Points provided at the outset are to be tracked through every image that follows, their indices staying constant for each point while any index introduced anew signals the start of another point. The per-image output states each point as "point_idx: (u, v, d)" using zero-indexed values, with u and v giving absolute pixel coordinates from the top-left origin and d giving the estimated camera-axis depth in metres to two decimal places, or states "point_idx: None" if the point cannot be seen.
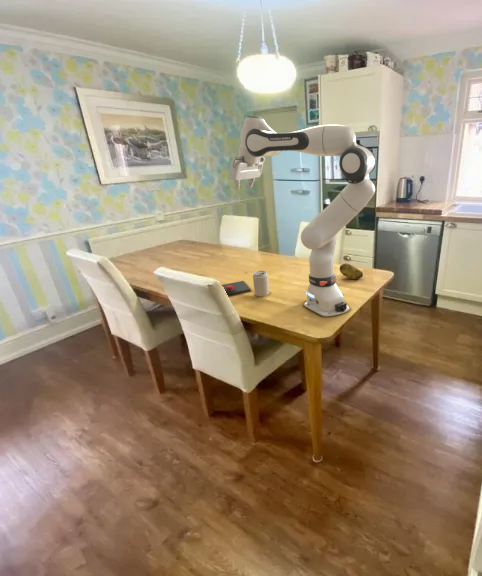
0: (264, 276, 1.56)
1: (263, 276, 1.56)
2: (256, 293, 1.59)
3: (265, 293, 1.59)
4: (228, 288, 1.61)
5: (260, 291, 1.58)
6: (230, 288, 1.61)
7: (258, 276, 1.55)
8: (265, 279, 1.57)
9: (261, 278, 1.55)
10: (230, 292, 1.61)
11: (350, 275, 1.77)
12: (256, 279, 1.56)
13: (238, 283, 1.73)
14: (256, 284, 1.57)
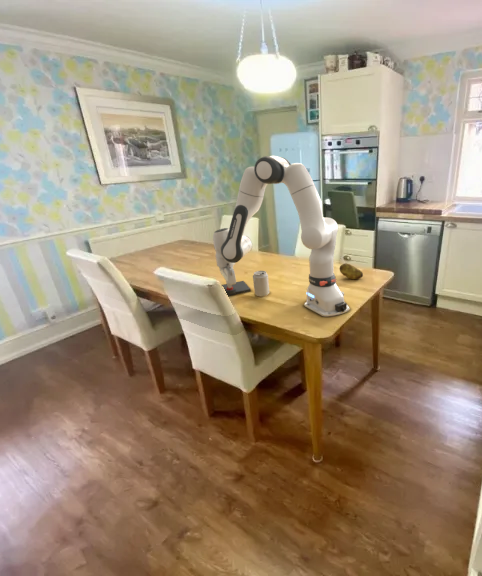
0: (264, 276, 1.56)
1: (263, 276, 1.56)
2: (256, 293, 1.59)
3: (265, 293, 1.59)
4: (228, 289, 1.62)
5: (260, 291, 1.58)
6: (230, 289, 1.62)
7: (258, 276, 1.55)
8: (265, 279, 1.57)
9: (261, 278, 1.55)
10: (230, 292, 1.61)
11: (350, 275, 1.77)
12: (256, 279, 1.56)
13: (238, 283, 1.73)
14: (256, 284, 1.57)
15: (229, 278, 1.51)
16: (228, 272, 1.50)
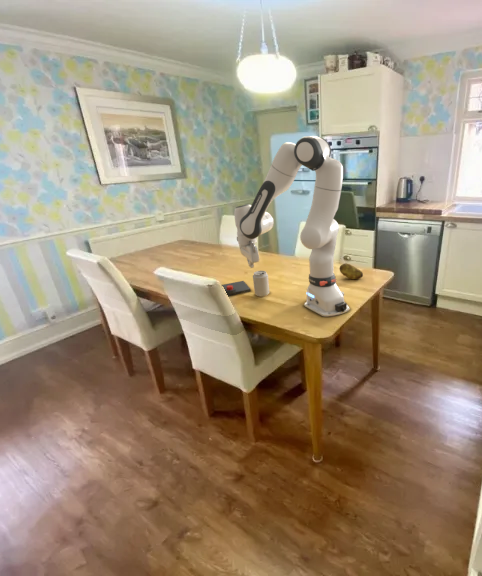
0: (264, 276, 1.56)
1: (263, 276, 1.56)
2: (256, 293, 1.59)
3: (265, 293, 1.59)
4: (228, 288, 1.61)
5: (260, 291, 1.58)
6: (230, 288, 1.61)
7: (258, 276, 1.55)
8: (265, 279, 1.57)
9: (261, 278, 1.55)
10: (230, 292, 1.61)
11: (350, 275, 1.77)
12: (256, 279, 1.56)
13: (238, 283, 1.73)
14: (256, 284, 1.57)
15: (252, 255, 1.45)
16: (251, 249, 1.45)
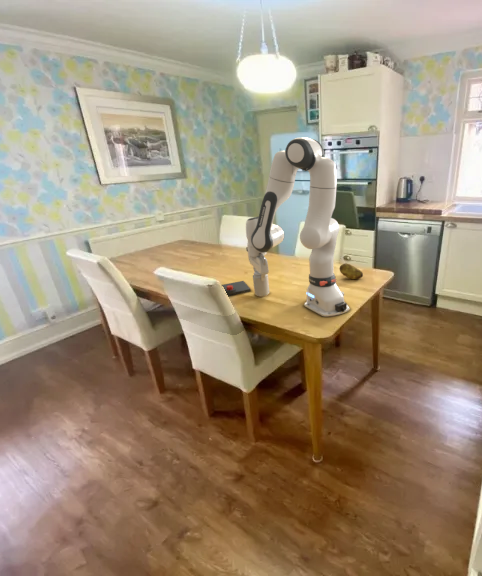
0: None
1: None
2: (256, 293, 1.59)
3: (265, 293, 1.59)
4: (228, 288, 1.61)
5: (260, 291, 1.58)
6: (230, 288, 1.61)
7: (258, 276, 1.55)
8: (265, 279, 1.57)
9: None
10: (230, 292, 1.61)
11: (350, 275, 1.77)
12: (256, 279, 1.56)
13: (238, 283, 1.73)
14: (256, 284, 1.57)
15: (262, 267, 1.47)
16: (261, 261, 1.47)
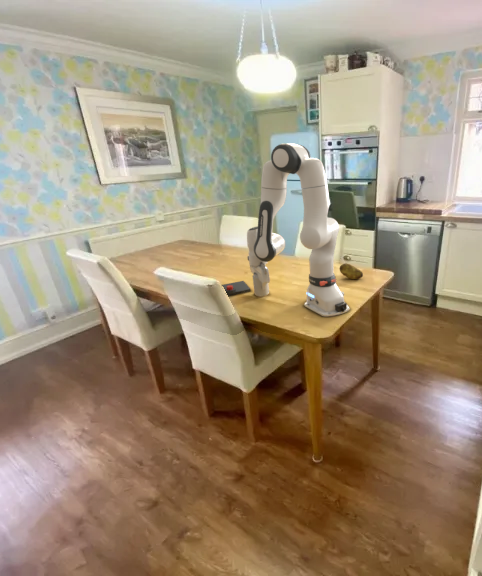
0: None
1: None
2: (256, 293, 1.59)
3: (265, 293, 1.59)
4: (228, 288, 1.61)
5: (260, 291, 1.58)
6: (230, 288, 1.61)
7: None
8: None
9: None
10: (230, 292, 1.61)
11: (350, 275, 1.77)
12: (256, 279, 1.56)
13: (238, 283, 1.73)
14: (256, 284, 1.57)
15: (263, 277, 1.49)
16: (262, 271, 1.48)
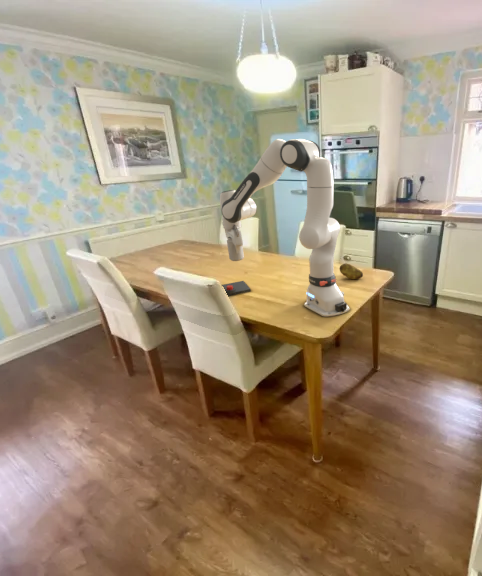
0: None
1: None
2: (230, 257, 1.62)
3: (239, 257, 1.62)
4: (228, 288, 1.61)
5: (234, 255, 1.61)
6: (230, 288, 1.61)
7: None
8: None
9: None
10: (230, 292, 1.61)
11: (350, 275, 1.77)
12: (230, 243, 1.58)
13: (238, 283, 1.73)
14: (230, 248, 1.60)
15: (236, 239, 1.52)
16: (235, 233, 1.51)
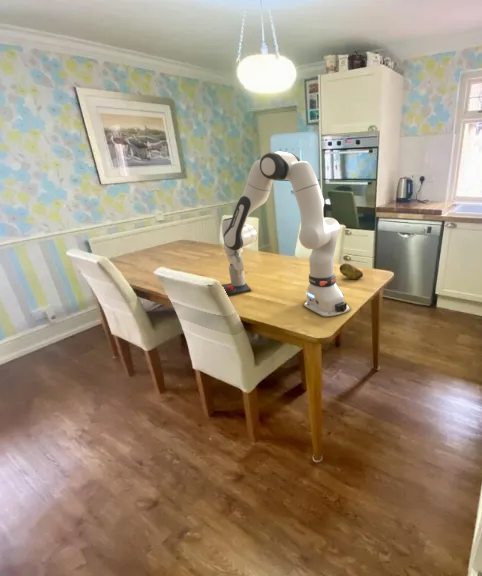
0: None
1: None
2: (232, 283, 1.68)
3: (241, 283, 1.68)
4: (228, 288, 1.61)
5: (236, 281, 1.67)
6: (230, 288, 1.61)
7: (233, 267, 1.65)
8: None
9: None
10: (230, 292, 1.61)
11: (350, 275, 1.77)
12: (232, 270, 1.65)
13: None
14: (232, 275, 1.66)
15: (237, 265, 1.58)
16: (236, 259, 1.57)
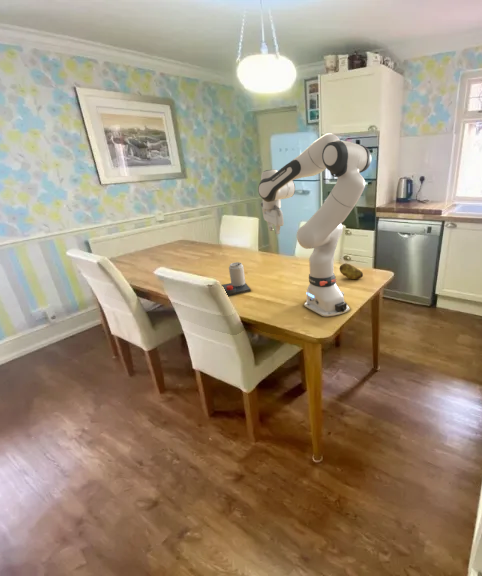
0: (239, 267, 1.65)
1: (238, 267, 1.65)
2: (232, 283, 1.68)
3: (241, 283, 1.68)
4: (228, 288, 1.61)
5: (236, 281, 1.67)
6: (230, 288, 1.61)
7: (233, 267, 1.65)
8: (240, 270, 1.66)
9: (236, 269, 1.65)
10: (230, 292, 1.61)
11: (350, 275, 1.77)
12: (232, 270, 1.65)
13: None
14: (232, 275, 1.66)
15: (277, 219, 1.51)
16: (276, 212, 1.51)
